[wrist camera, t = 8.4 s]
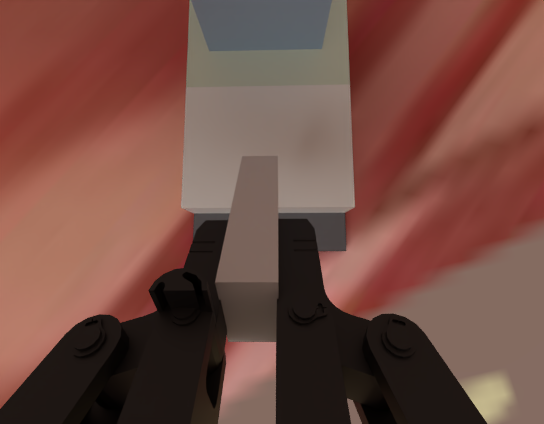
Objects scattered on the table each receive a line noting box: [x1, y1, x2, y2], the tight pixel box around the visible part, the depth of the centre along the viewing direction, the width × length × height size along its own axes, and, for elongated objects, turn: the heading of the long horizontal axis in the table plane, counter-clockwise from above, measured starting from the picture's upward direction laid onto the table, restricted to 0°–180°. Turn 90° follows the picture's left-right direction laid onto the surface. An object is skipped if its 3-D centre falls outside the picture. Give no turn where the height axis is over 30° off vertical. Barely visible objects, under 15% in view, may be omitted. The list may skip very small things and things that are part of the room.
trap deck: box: [181, 0, 355, 251], centre depth 19 cm, size 10×22×3 cm, turn 0°
